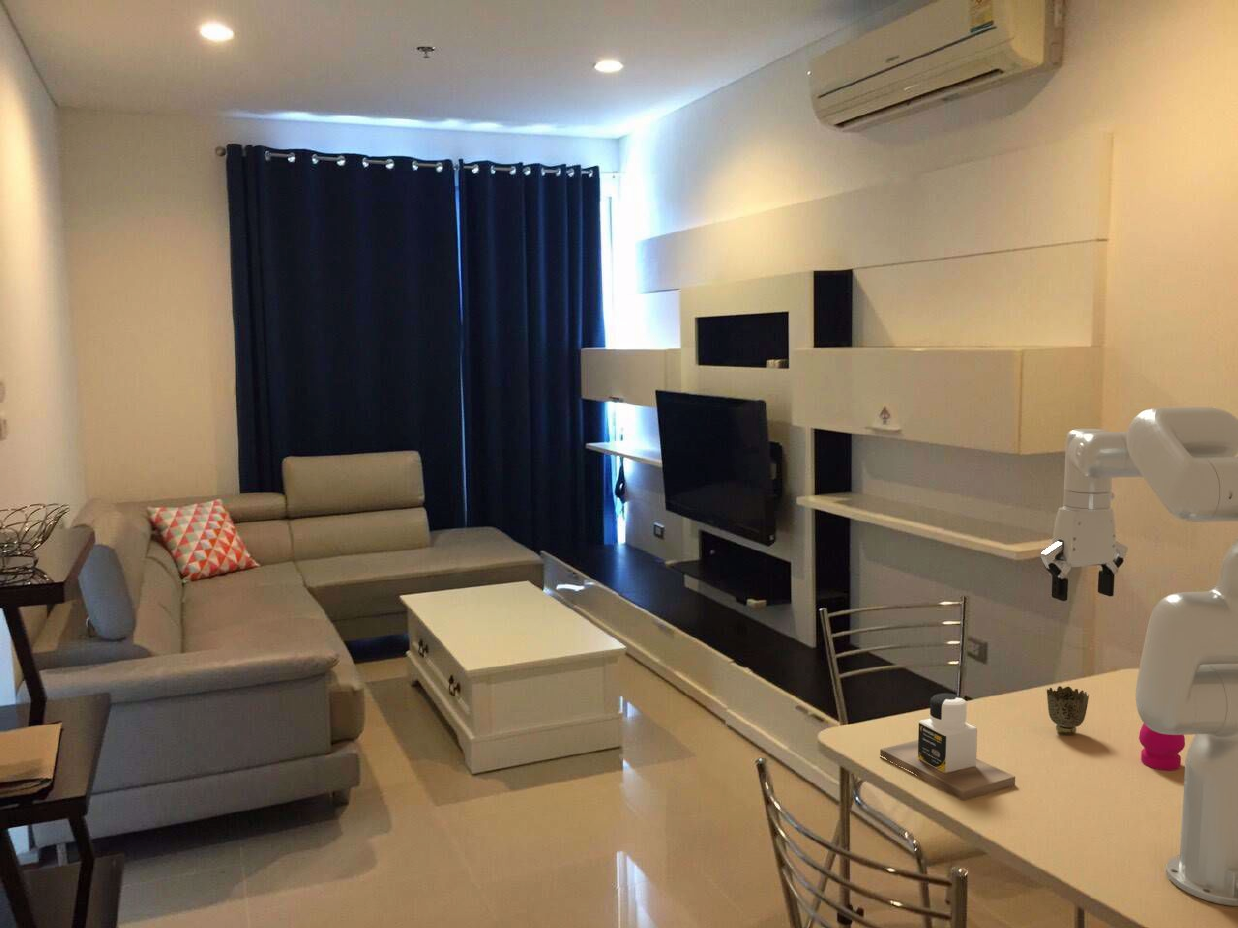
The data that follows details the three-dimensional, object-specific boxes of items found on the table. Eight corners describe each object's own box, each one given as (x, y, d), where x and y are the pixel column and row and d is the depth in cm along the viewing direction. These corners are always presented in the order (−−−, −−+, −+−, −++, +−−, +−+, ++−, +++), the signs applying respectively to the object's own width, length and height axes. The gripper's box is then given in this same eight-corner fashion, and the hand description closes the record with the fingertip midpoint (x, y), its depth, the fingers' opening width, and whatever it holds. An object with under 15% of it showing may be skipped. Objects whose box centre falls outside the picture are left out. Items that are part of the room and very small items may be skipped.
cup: (1062, 741, 194) (1064, 700, 193) (1036, 727, 201) (1038, 688, 200) (1095, 737, 196) (1097, 696, 195) (1069, 723, 203) (1071, 684, 202)
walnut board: (1015, 784, 176) (1015, 776, 176) (963, 800, 171) (963, 791, 170) (929, 744, 194) (929, 736, 193) (880, 757, 188) (880, 749, 188)
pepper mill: (1189, 773, 180) (1196, 661, 177) (1144, 770, 181) (1150, 659, 179) (1176, 756, 187) (1182, 649, 184) (1132, 753, 188) (1138, 647, 186)
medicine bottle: (916, 758, 184) (918, 693, 182) (948, 751, 186) (950, 687, 185) (944, 774, 177) (946, 706, 176) (977, 766, 180) (979, 700, 178)
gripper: (1112, 494, 185) (1107, 588, 187) (1030, 500, 180) (1026, 595, 182) (1144, 500, 178) (1139, 597, 180) (1060, 506, 173) (1055, 606, 175)
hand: (1082, 596), depth 181 cm, fingers open, 9 cm apart
